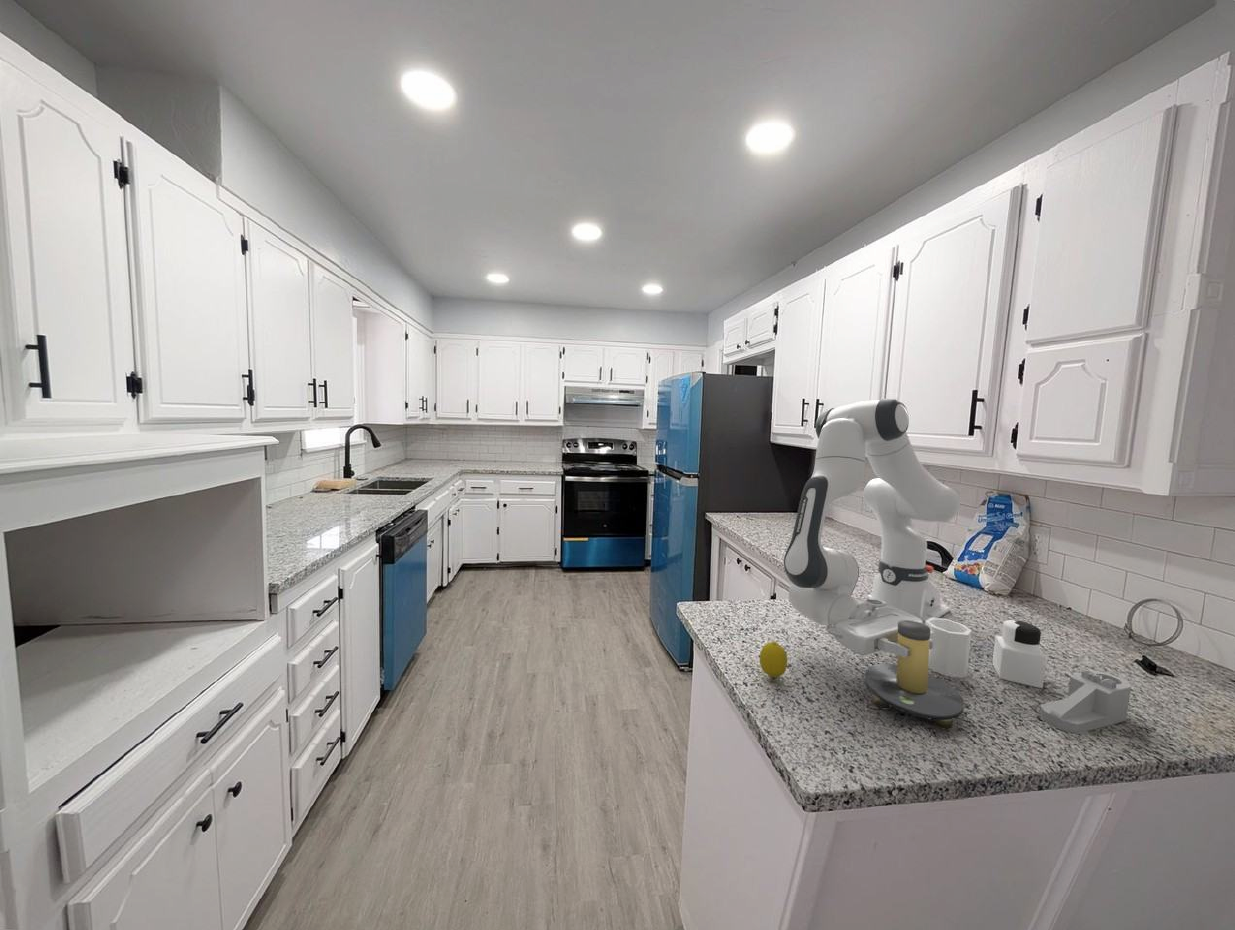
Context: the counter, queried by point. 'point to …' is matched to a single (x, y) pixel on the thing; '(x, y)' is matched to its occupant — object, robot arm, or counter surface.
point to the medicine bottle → (1019, 654)
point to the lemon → (773, 659)
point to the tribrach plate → (914, 696)
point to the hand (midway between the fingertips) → (920, 649)
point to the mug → (949, 647)
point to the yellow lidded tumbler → (913, 656)
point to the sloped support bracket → (1089, 703)
